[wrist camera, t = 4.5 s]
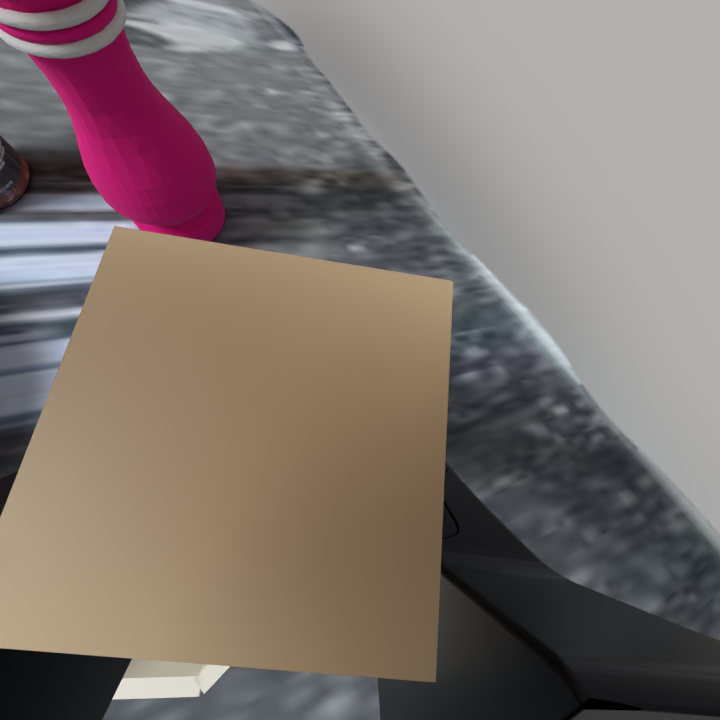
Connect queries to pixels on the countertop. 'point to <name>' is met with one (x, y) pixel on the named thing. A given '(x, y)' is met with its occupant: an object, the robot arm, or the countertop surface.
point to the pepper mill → (119, 116)
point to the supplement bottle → (11, 174)
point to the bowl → (166, 679)
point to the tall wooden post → (237, 467)
